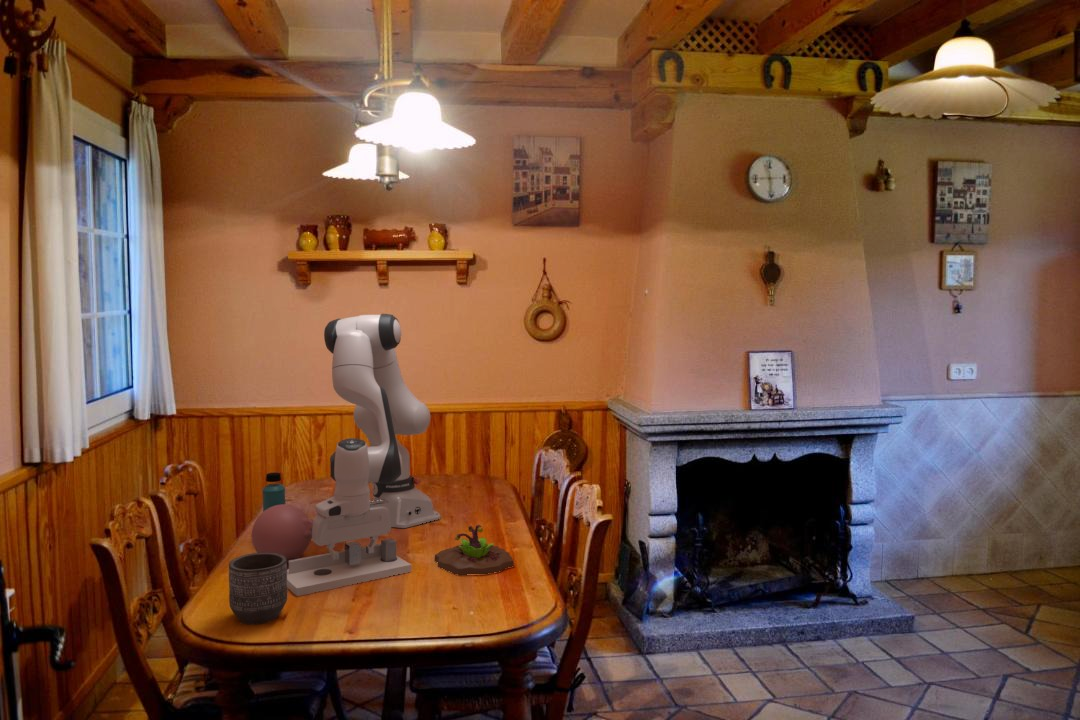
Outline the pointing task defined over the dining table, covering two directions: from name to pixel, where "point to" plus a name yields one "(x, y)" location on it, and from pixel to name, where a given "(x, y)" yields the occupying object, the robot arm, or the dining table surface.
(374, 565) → the grey peg board
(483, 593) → the dining table surface
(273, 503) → the beverage bottle
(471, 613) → the dining table surface
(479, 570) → the plant
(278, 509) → the balloon
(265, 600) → the planter
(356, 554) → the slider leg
